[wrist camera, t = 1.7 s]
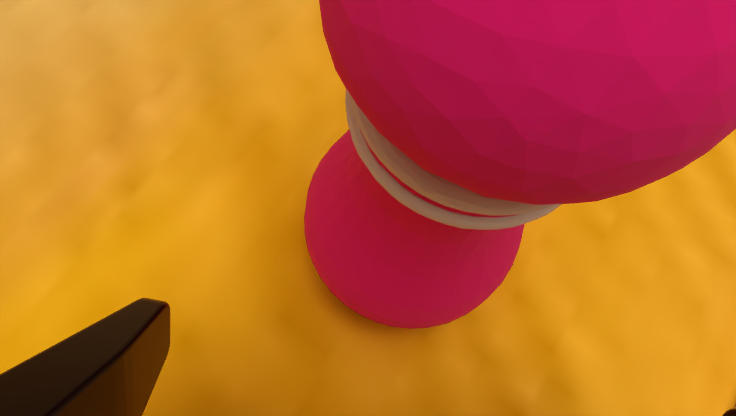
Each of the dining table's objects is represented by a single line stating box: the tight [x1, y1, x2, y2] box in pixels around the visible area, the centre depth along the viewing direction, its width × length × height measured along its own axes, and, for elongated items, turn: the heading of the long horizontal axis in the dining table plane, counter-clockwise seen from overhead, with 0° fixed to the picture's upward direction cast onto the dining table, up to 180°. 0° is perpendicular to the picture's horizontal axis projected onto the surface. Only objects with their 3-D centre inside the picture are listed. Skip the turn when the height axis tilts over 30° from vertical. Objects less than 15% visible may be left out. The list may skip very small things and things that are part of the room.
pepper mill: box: [304, 0, 736, 328], centre depth 12 cm, size 7×7×20 cm
